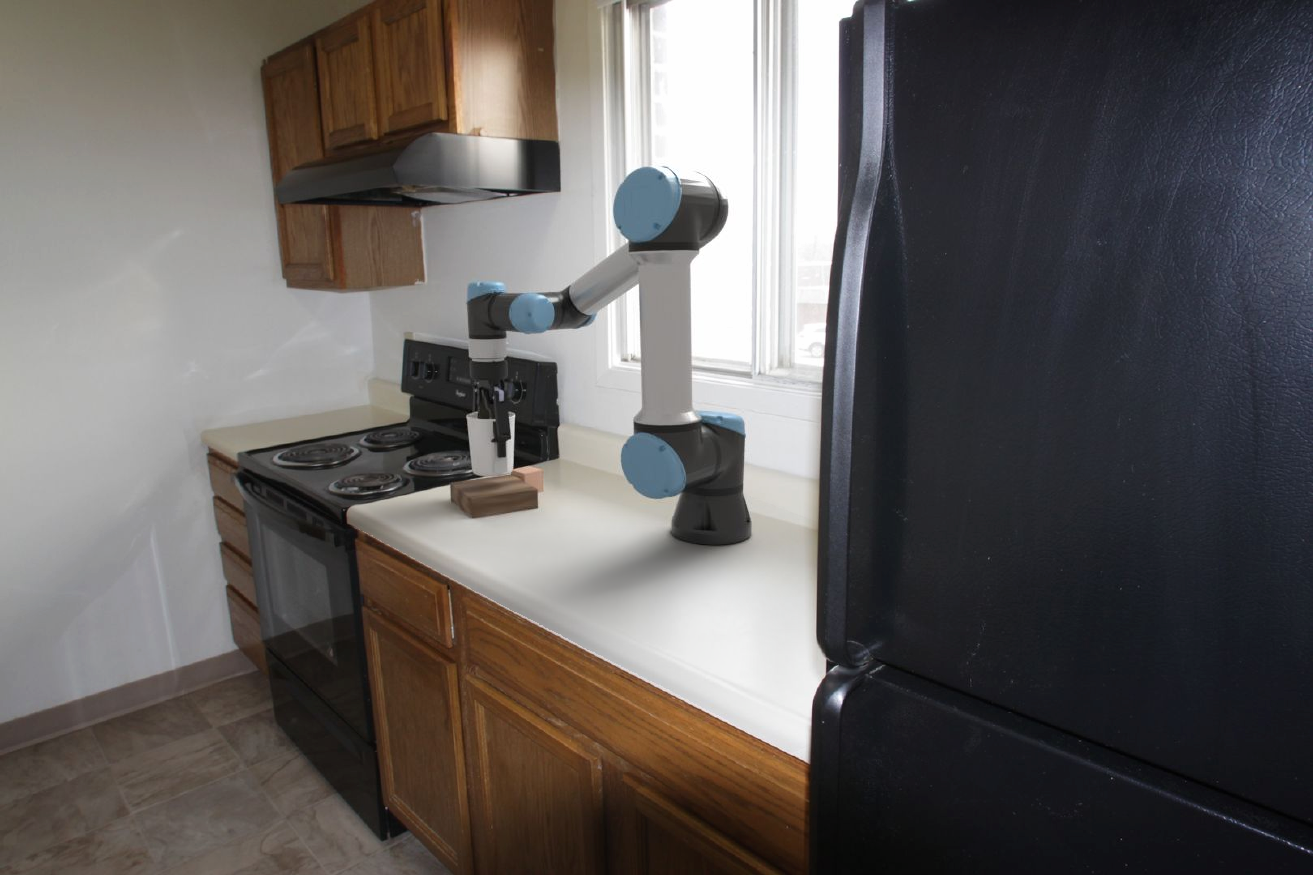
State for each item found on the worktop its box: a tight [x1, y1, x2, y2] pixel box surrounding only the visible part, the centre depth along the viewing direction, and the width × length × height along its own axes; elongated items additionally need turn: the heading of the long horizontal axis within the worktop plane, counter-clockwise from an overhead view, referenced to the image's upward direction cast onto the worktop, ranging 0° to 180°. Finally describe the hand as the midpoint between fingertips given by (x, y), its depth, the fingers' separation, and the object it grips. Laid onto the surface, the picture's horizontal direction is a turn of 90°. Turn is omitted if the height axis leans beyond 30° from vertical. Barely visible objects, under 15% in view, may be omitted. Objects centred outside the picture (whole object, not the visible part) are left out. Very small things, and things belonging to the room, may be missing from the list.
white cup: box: [466, 411, 516, 477], centre depth 170 cm, size 10×10×12 cm
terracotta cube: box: [510, 465, 544, 494], centre depth 182 cm, size 5×5×5 cm
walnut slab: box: [449, 474, 539, 519], centre depth 172 cm, size 14×14×4 cm
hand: (492, 467), depth 171 cm, fingers closed on white cup, 9 cm apart
